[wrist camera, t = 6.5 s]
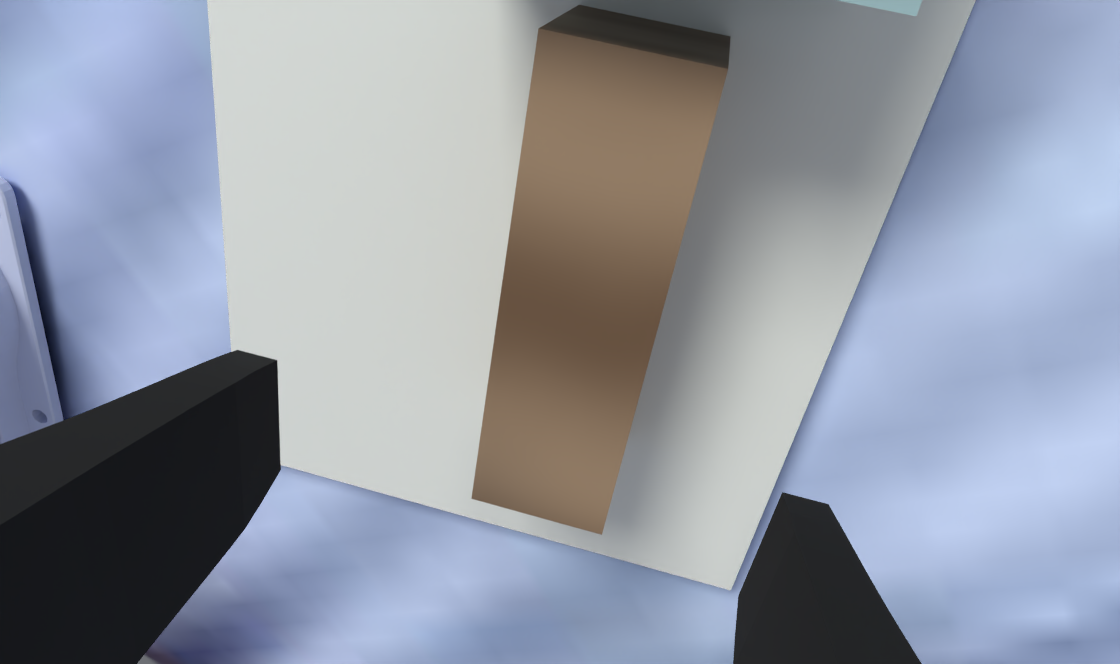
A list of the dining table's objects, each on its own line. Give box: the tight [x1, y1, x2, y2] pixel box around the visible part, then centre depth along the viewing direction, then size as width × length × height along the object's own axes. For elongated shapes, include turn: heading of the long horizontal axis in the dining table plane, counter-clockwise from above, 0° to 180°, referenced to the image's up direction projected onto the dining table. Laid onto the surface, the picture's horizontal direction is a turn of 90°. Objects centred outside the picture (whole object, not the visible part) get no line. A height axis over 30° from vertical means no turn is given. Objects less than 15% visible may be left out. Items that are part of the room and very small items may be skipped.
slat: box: [471, 5, 731, 535], centre depth 16 cm, size 10×3×4 cm, turn 170°
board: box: [207, 0, 976, 591], centre depth 16 cm, size 26×15×1 cm, turn 170°
